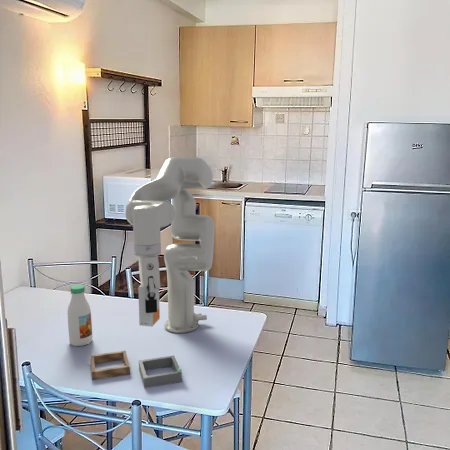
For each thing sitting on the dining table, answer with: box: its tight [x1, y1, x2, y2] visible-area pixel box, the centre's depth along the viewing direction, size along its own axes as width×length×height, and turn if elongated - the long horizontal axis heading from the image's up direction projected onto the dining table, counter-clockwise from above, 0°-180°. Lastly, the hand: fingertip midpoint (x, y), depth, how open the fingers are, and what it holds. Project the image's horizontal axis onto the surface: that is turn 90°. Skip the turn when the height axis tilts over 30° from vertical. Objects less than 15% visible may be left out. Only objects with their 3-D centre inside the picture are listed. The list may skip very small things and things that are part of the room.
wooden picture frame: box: [89, 350, 131, 381], centre depth 149 cm, size 11×11×2 cm
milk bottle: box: [67, 284, 93, 347], centre depth 165 cm, size 8×8×20 cm
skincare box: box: [137, 283, 161, 328], centre depth 141 cm, size 6×4×12 cm
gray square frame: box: [138, 355, 183, 389], centre depth 144 cm, size 11×11×4 cm
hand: (149, 306), depth 141 cm, fingers closed on skincare box, 7 cm apart
